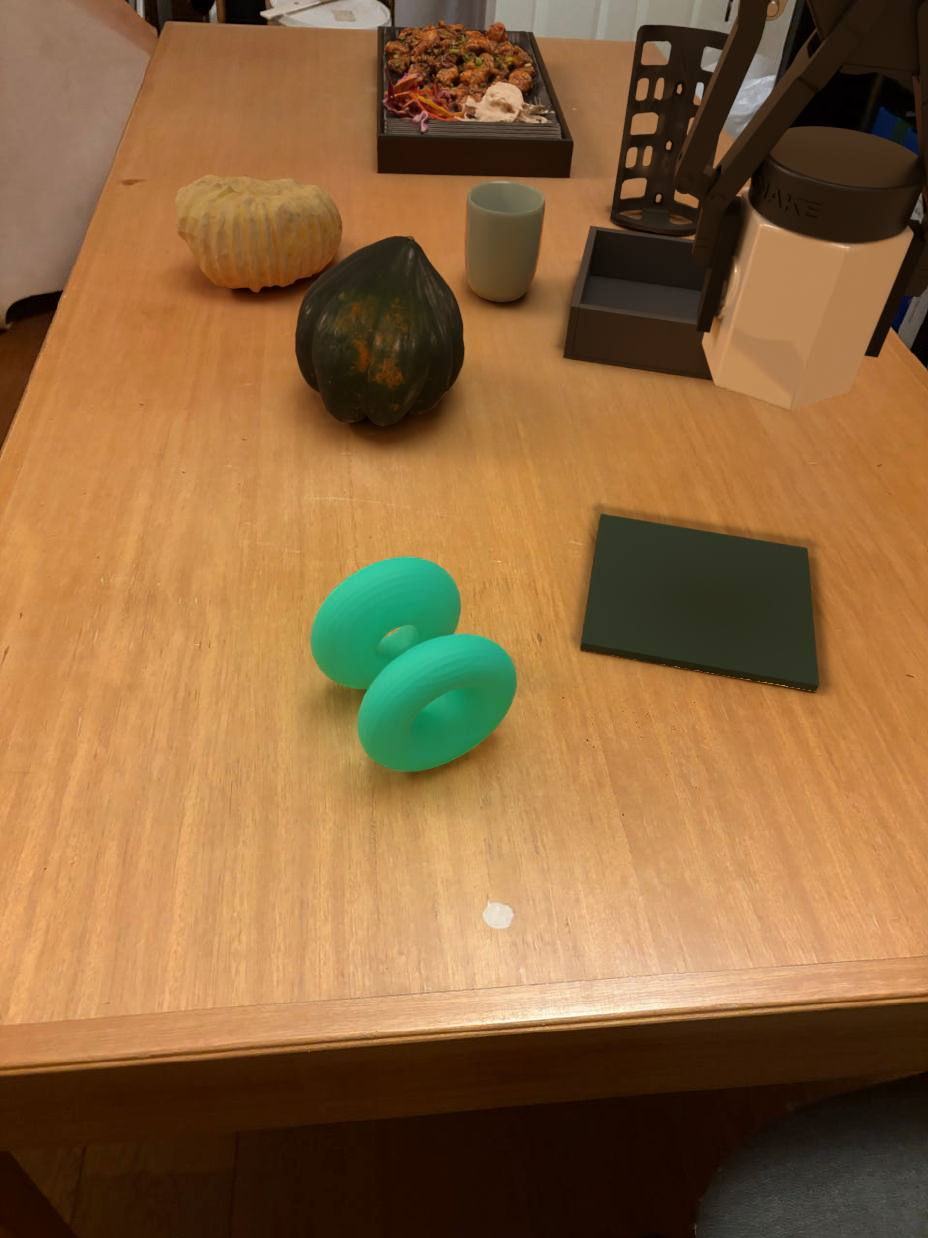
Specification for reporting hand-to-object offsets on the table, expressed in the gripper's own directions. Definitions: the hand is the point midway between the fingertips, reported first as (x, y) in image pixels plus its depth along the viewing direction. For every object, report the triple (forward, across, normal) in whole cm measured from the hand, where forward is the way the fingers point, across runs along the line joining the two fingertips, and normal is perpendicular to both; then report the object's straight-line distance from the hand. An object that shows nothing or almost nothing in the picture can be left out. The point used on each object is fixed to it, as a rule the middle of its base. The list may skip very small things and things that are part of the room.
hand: (785, 331), depth 53 cm
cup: (+22, -22, +40) cm, 51 cm away
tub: (+21, -5, +38) cm, 44 cm away
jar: (+3, 0, 0) cm, 3 cm away
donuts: (+22, -18, -16) cm, 32 cm away
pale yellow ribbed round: (+22, -47, +38) cm, 64 cm away
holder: (+22, -7, +64) cm, 67 cm away
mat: (+21, 0, 0) cm, 21 cm away
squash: (+22, -29, +18) cm, 41 cm away
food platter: (+21, -36, +92) cm, 101 cm away
